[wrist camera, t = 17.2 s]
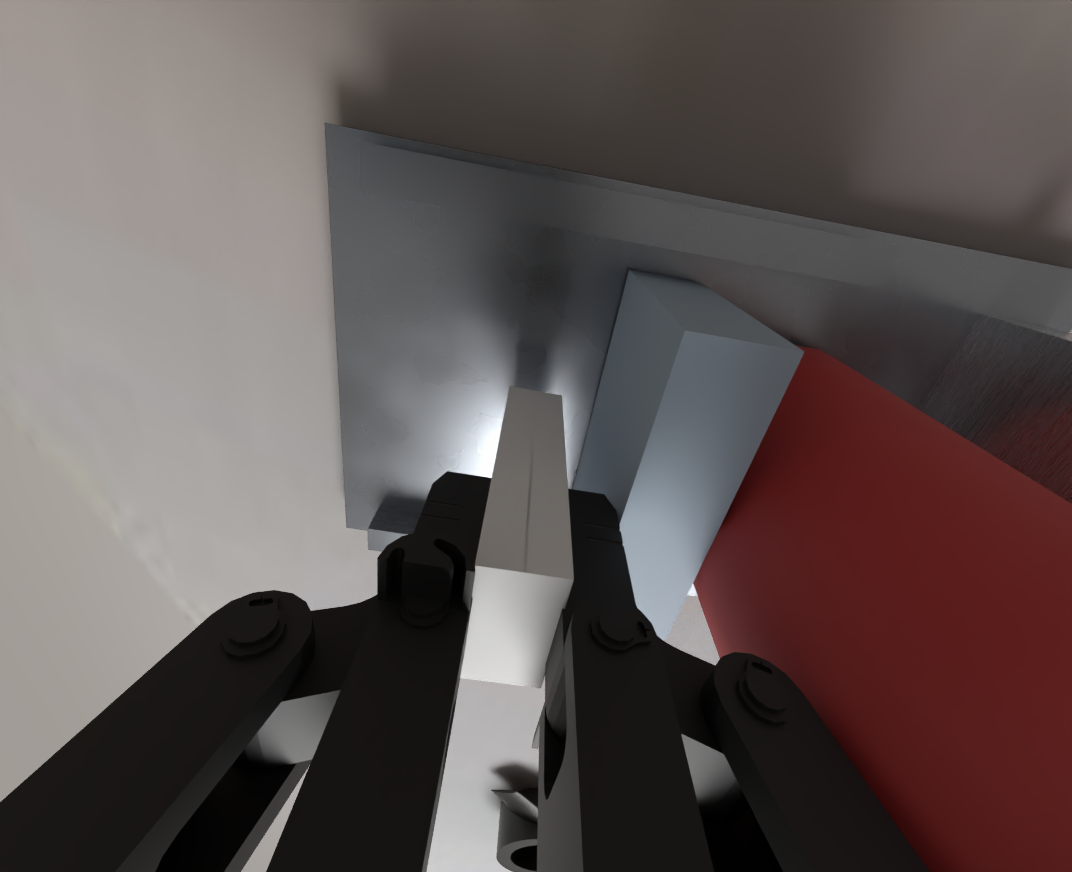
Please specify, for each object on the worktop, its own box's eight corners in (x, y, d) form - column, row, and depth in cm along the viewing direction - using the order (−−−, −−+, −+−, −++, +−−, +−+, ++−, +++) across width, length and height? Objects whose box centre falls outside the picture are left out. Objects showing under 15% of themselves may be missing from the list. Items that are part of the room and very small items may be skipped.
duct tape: (480, 829, 33) (475, 883, 30) (494, 760, 28) (489, 817, 26) (584, 839, 33) (586, 893, 31) (615, 773, 28) (621, 831, 26)
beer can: (738, 540, 17) (1037, 1107, 7) (606, 450, 15) (728, 1032, 5) (899, 417, 14) (1835, 1046, 4) (761, 290, 13) (1811, 824, 2)
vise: (341, 127, 12) (39, 46, 5) (1074, 270, 13) (1678, 371, 6) (356, 510, 18) (235, 715, 11) (847, 583, 19) (1015, 808, 12)
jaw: (629, 269, 12) (684, 330, 7) (700, 282, 12) (804, 351, 7) (543, 602, 19) (540, 757, 14) (590, 609, 19) (605, 765, 14)
